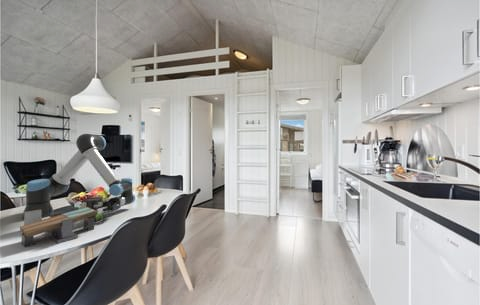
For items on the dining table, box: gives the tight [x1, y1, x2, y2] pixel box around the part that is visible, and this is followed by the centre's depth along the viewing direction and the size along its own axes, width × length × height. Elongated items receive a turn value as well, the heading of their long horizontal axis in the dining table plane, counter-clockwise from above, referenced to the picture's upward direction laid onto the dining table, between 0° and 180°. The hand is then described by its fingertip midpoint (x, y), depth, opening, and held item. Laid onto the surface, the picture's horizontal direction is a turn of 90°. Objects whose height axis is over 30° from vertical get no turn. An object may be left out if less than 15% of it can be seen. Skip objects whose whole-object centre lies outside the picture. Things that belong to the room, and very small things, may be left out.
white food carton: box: [23, 210, 43, 226], centre depth 121 cm, size 4×7×10 cm, turn 138°
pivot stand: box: [21, 212, 95, 248], centre depth 112 cm, size 20×28×10 cm
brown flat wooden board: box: [19, 207, 97, 238], centre depth 112 cm, size 15×28×2 cm, turn 144°
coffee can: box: [82, 196, 104, 224], centre depth 134 cm, size 10×10×14 cm
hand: (88, 210), depth 131 cm, fingers open, 13 cm apart
